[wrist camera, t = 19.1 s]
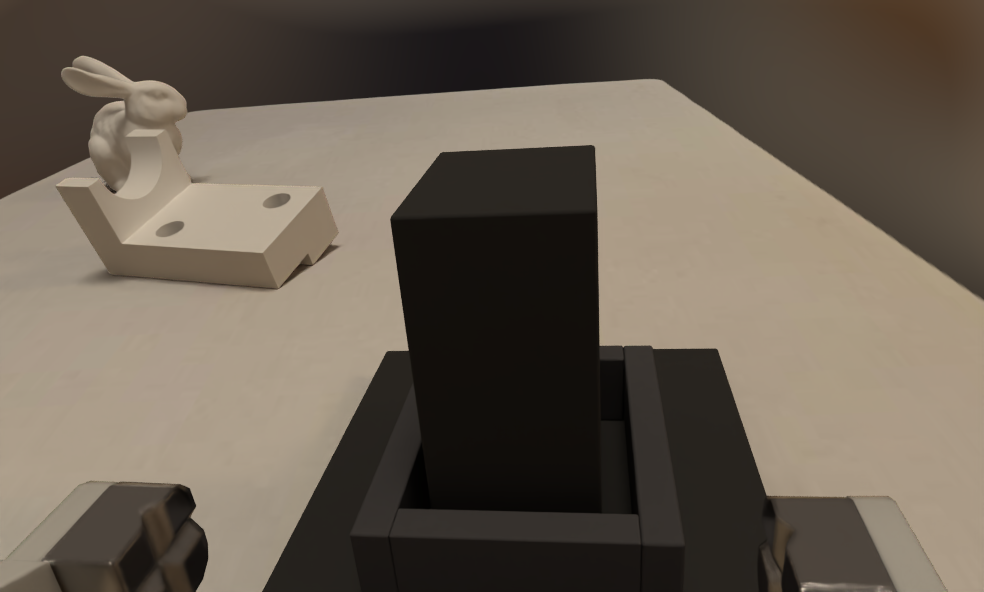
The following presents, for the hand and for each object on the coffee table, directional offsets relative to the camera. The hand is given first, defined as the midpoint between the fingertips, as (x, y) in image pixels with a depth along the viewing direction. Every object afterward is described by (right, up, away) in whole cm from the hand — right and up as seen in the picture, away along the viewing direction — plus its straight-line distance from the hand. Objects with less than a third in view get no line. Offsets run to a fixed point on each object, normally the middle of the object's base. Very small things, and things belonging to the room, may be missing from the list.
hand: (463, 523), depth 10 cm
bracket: (-17, +5, +36) cm, 41 cm away
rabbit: (-31, +13, +57) cm, 66 cm away
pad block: (+1, -3, +12) cm, 12 cm away
